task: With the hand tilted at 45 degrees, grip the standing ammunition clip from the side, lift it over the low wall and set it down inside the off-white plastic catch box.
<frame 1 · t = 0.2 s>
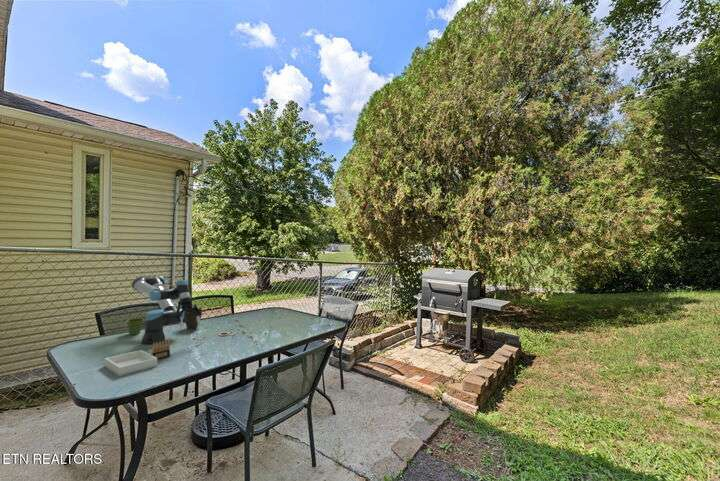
hand: (190, 325, 234), 16 cm above the table, tool tilted 35°, fingers open, 13 cm apart
plant pot: (191, 328, 278), on the table
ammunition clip: (160, 358, 209), on the table
catch box: (130, 366, 195), on the table
plant pot 2: (134, 333, 256), on the table
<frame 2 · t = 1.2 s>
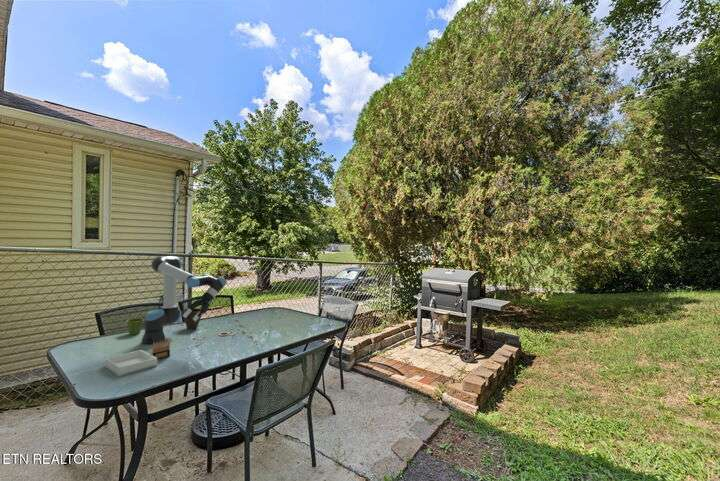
hand: (188, 318, 223), 24 cm above the table, tool tilted 45°, fingers open, 13 cm apart
nothing on the table moved.
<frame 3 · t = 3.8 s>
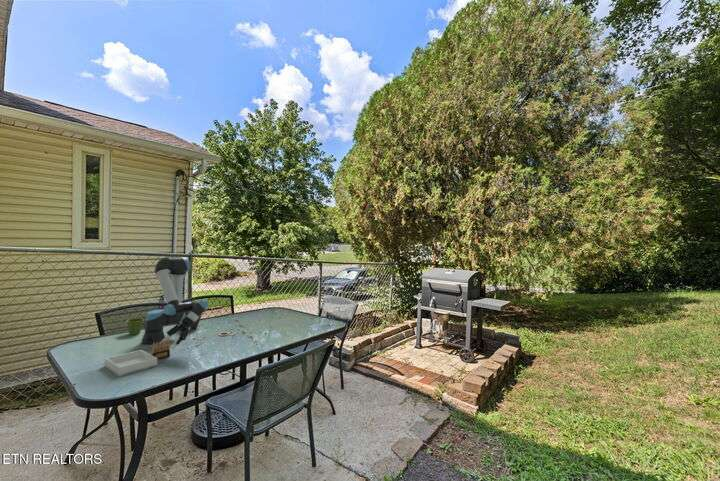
hand: (166, 346, 210), 8 cm above the table, tool tilted 45°, fingers open, 13 cm apart
nothing on the table moved.
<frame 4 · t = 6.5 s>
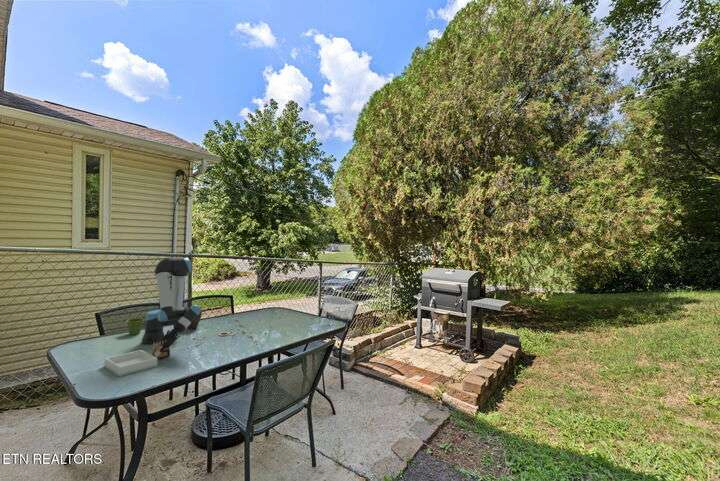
hand: (154, 355, 206), 3 cm above the table, tool tilted 45°, fingers closed on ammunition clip, 2 cm apart
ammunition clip: (160, 358, 209), on the table, touching gripper
everything else where it was.
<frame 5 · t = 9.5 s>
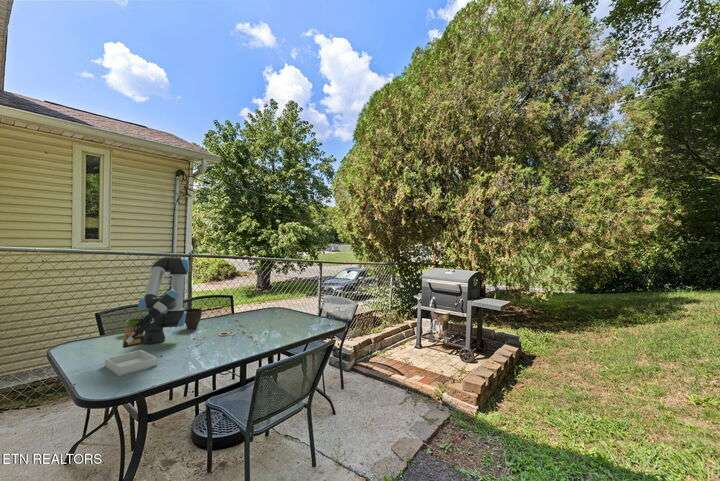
hand: (126, 341, 192), 16 cm above the table, tool tilted 45°, fingers closed on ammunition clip, 2 cm apart
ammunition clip: (133, 345, 195), point 12 cm above the table, touching gripper
everything else where it was.
when the fingers open (6 cm above the table, at t = 12.5 s): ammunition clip drops 1 cm, resting on catch box.
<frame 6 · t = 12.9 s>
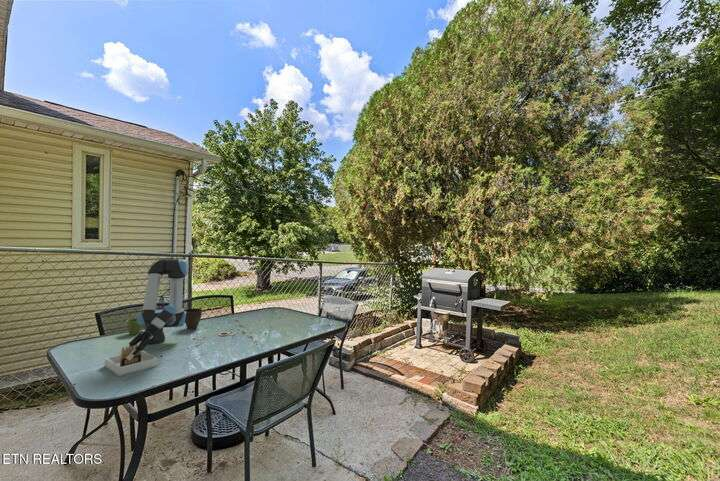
hand: (125, 357, 192), 6 cm above the table, tool tilted 45°, fingers open, 7 cm apart
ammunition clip: (130, 364, 195), point 1 cm above the table, touching catch box
everything else where it was.
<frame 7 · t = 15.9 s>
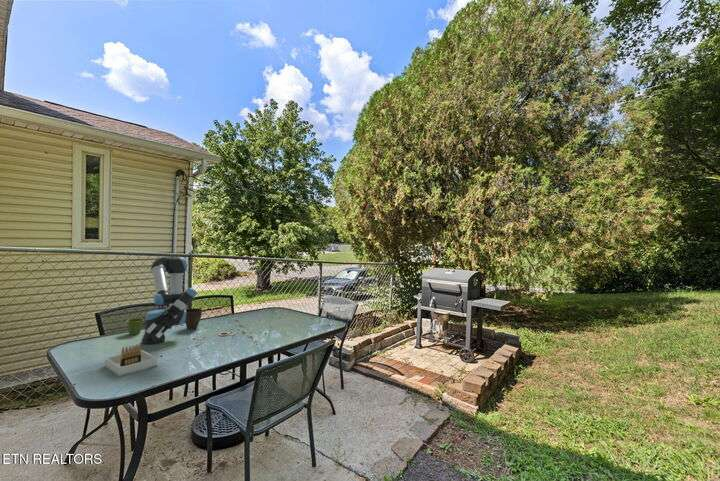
hand: (152, 334, 204), 17 cm above the table, tool tilted 45°, fingers open, 13 cm apart
nothing on the table moved.
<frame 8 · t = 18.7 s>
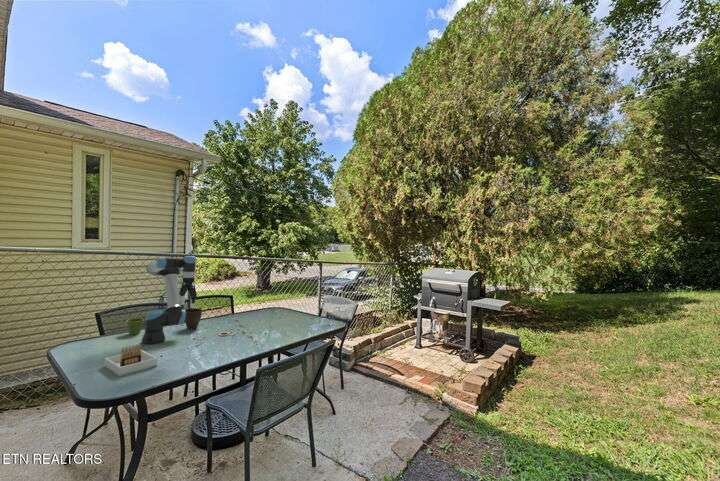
hand: (187, 306, 230), 31 cm above the table, tool pointing down, fingers open, 13 cm apart
nothing on the table moved.
at the end: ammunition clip inside the target area on the catch box (0.2 cm from its centre), point 0.8 cm above the catch box's base; the gripper is holding nothing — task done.
